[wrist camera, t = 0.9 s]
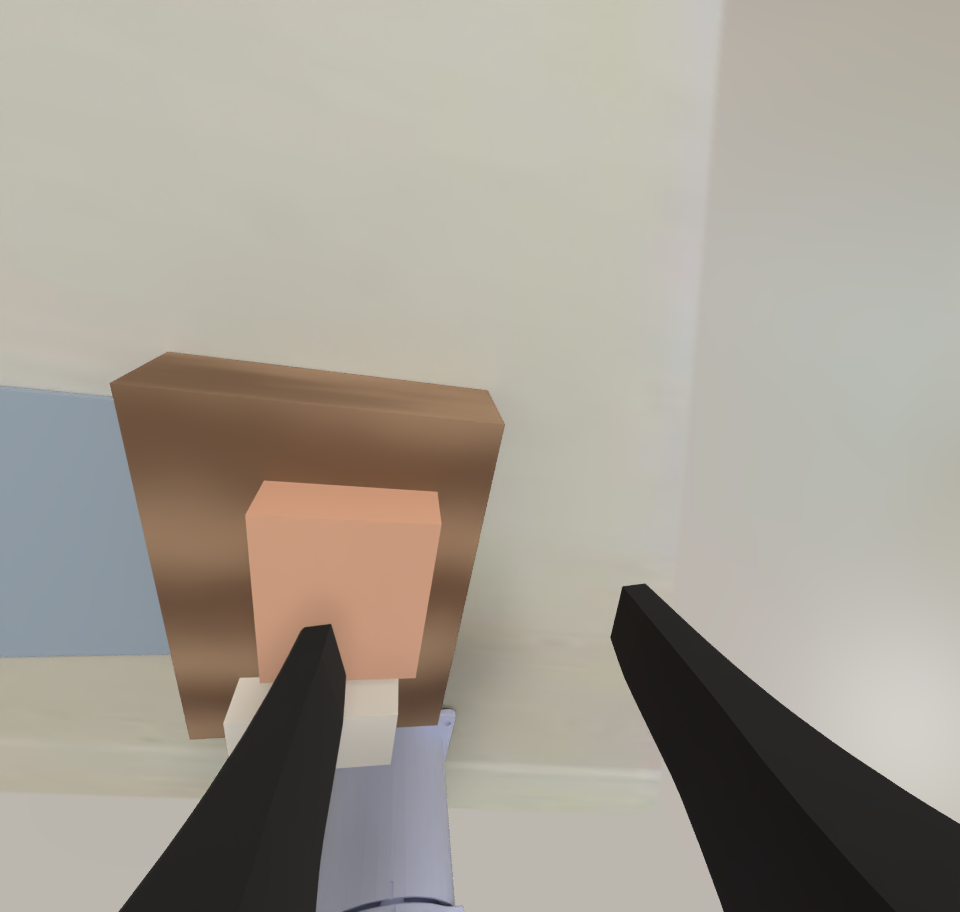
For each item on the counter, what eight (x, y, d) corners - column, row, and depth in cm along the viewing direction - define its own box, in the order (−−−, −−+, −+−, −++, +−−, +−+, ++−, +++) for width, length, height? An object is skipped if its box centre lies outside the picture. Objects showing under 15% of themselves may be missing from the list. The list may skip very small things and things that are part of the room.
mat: (192, 648, 22) (190, 653, 22) (-97, 653, 20) (-104, 658, 19) (145, 400, 16) (141, 403, 16) (-290, 357, 13) (-303, 360, 13)
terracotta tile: (414, 637, 19) (415, 677, 18) (273, 639, 18) (259, 683, 16) (437, 491, 16) (441, 524, 14) (263, 480, 15) (244, 515, 13)
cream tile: (391, 722, 22) (390, 764, 21) (246, 730, 21) (231, 776, 19) (398, 673, 20) (397, 714, 19) (239, 677, 19) (223, 723, 17)
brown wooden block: (433, 667, 26) (437, 725, 23) (217, 672, 23) (190, 739, 20) (487, 390, 18) (504, 424, 15) (167, 351, 15) (110, 383, 12)
